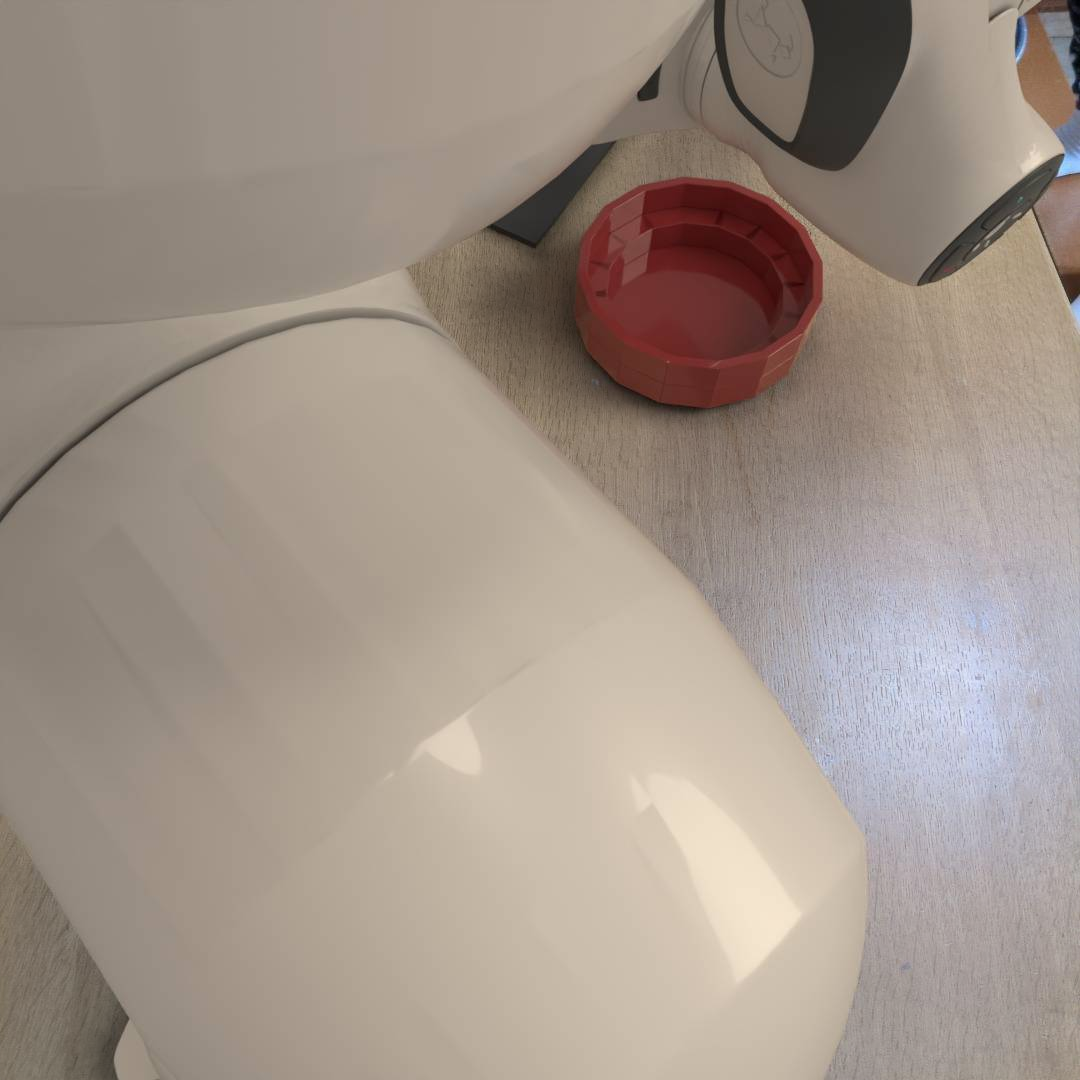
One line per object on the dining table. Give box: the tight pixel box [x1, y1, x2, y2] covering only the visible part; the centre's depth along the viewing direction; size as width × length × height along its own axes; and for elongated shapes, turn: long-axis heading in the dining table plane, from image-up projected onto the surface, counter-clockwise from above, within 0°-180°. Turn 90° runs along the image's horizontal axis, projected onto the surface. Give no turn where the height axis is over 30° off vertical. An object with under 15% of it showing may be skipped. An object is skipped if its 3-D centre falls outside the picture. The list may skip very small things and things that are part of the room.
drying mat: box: [488, 140, 617, 248], centre depth 70 cm, size 14×10×1 cm
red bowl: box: [573, 176, 824, 409], centre depth 62 cm, size 14×14×4 cm
